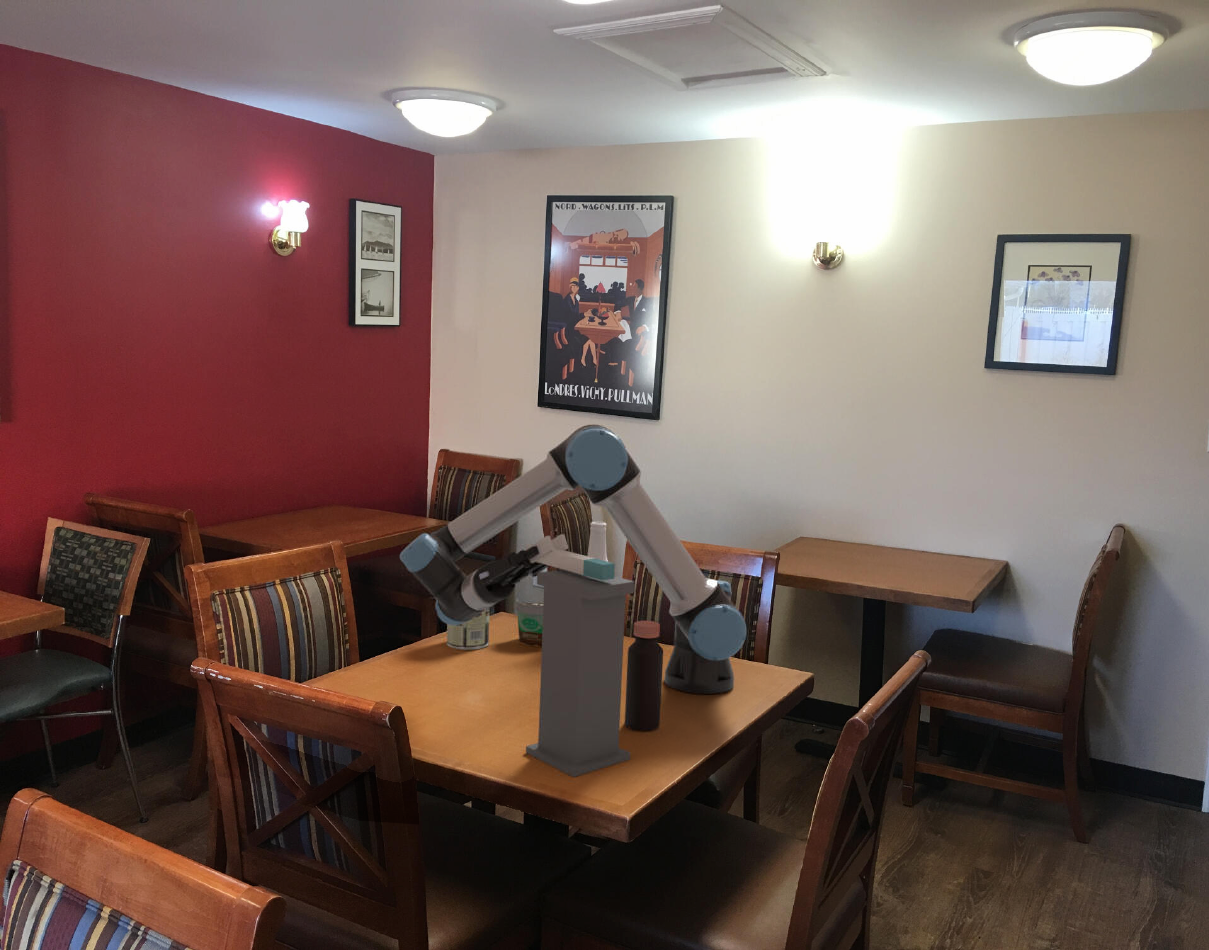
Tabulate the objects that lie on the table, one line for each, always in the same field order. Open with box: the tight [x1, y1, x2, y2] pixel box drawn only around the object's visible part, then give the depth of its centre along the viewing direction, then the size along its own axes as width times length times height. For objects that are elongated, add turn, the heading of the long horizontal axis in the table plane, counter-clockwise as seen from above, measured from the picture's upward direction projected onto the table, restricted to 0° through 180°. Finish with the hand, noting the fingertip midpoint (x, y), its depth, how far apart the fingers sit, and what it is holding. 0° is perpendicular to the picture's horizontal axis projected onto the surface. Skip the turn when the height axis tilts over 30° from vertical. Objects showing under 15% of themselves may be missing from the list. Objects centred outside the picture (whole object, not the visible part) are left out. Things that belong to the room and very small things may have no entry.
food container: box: [514, 598, 544, 646], centre depth 245 cm, size 12×6×10 cm, turn 81°
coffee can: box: [446, 607, 491, 651], centre depth 242 cm, size 10×10×14 cm
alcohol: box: [587, 521, 609, 562], centre depth 247 cm, size 9×9×30 cm
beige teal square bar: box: [525, 543, 616, 580], centre depth 176 cm, size 21×3×3 cm, turn 42°
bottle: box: [624, 620, 664, 732], centre depth 192 cm, size 7×7×20 cm
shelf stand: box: [525, 569, 635, 778], centre depth 175 cm, size 14×13×32 cm
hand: (557, 542), depth 178 cm, fingers closed on beige teal square bar, 3 cm apart
